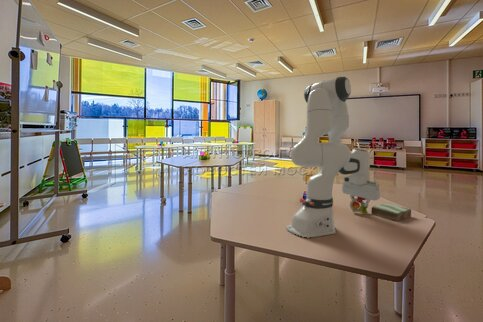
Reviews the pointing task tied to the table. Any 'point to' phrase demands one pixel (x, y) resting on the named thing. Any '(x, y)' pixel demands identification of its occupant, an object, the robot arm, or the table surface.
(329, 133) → the robot arm
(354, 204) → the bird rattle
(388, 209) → the sage green square tile
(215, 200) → the table surface
